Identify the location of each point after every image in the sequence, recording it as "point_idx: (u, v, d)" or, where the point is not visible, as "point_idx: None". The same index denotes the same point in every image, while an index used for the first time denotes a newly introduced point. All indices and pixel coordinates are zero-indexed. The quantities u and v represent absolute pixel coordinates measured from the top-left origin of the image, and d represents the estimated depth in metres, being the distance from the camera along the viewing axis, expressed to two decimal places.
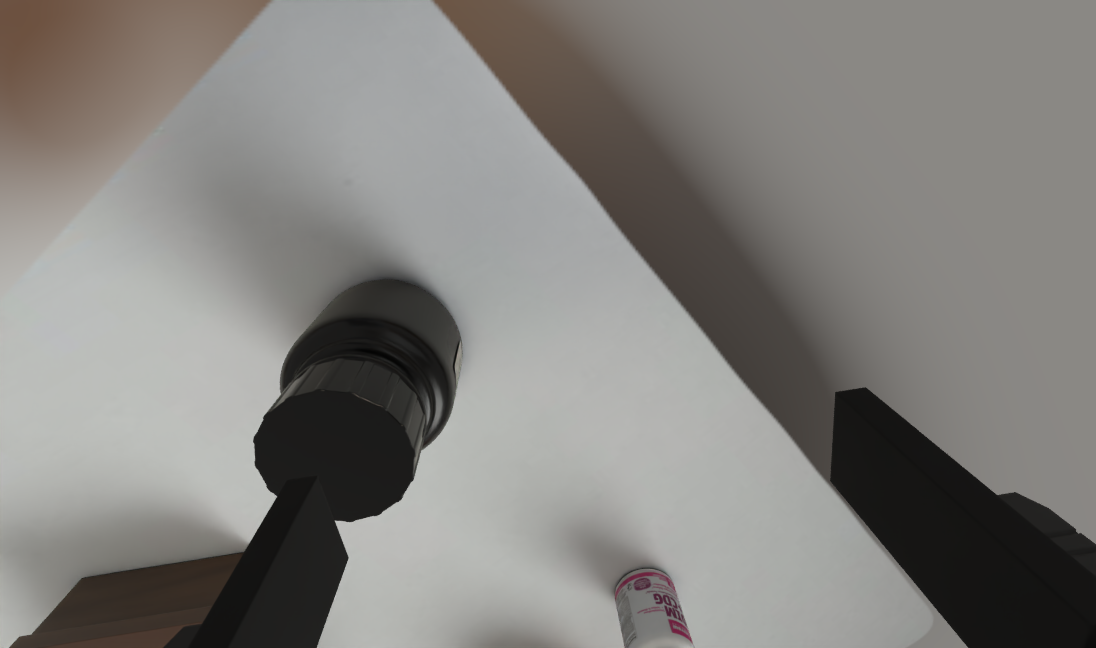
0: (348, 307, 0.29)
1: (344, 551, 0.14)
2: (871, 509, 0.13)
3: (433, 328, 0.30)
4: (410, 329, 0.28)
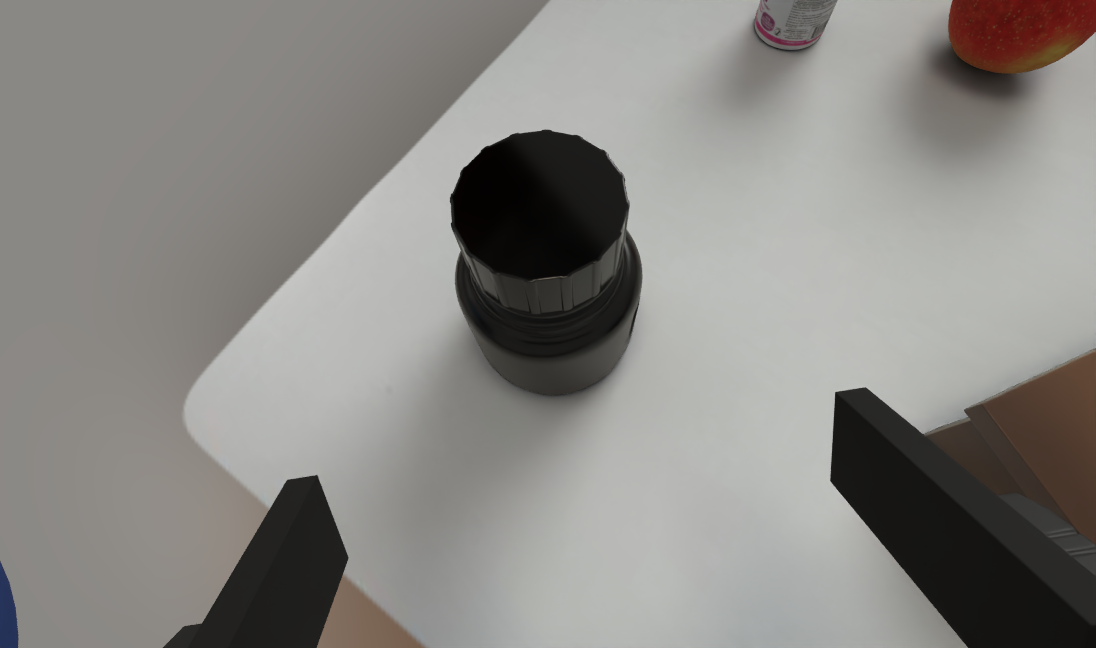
0: (466, 320, 0.27)
1: (344, 551, 0.14)
2: (871, 509, 0.13)
3: None
4: None
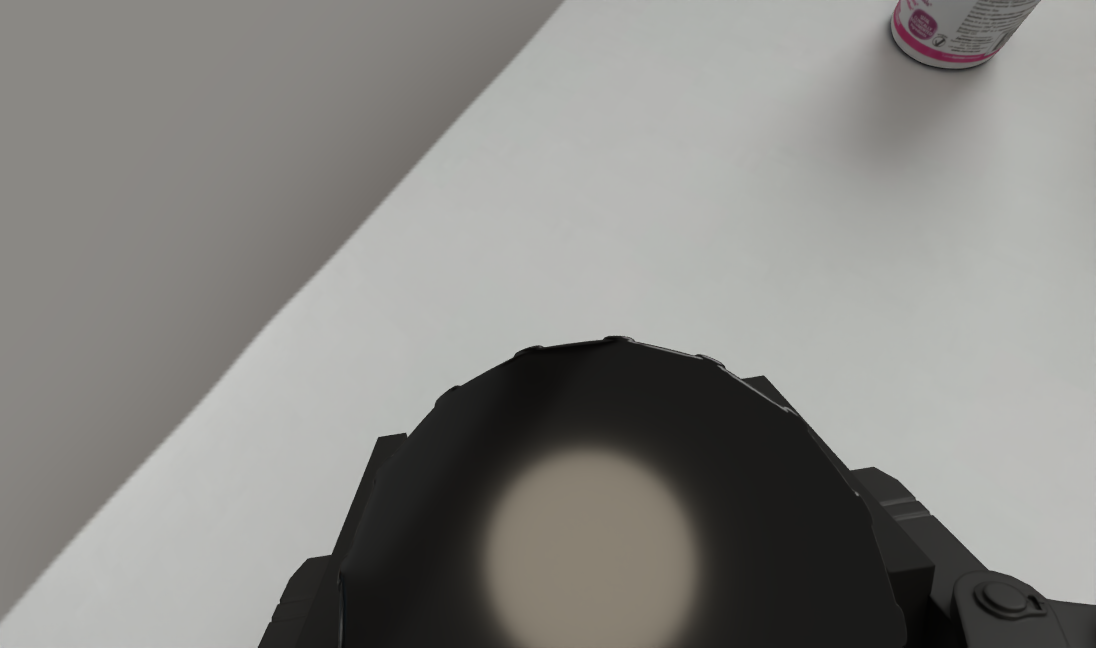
0: None
1: None
2: None
3: None
4: None
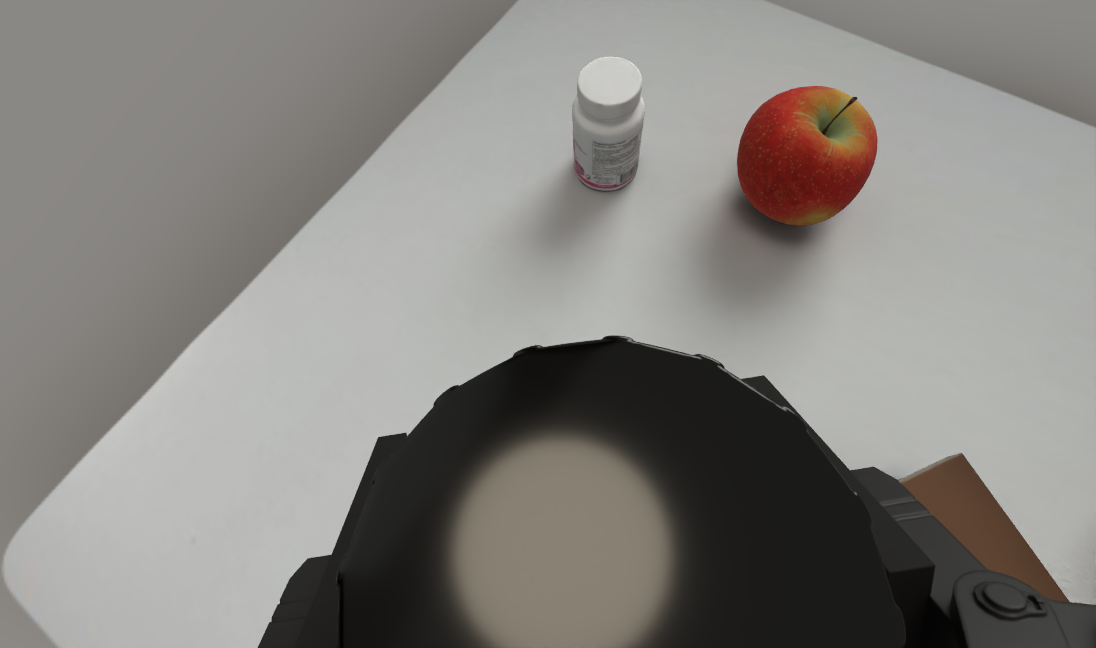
0: None
1: None
2: None
3: None
4: None
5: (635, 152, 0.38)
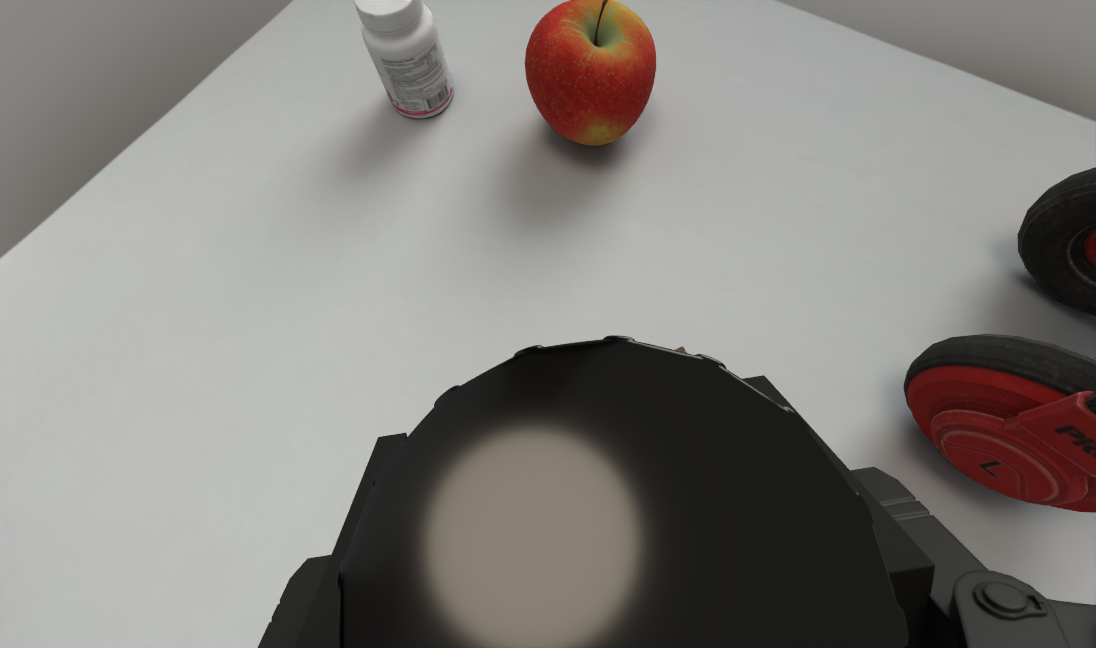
0: None
1: None
2: None
3: None
4: None
5: (435, 74, 0.38)
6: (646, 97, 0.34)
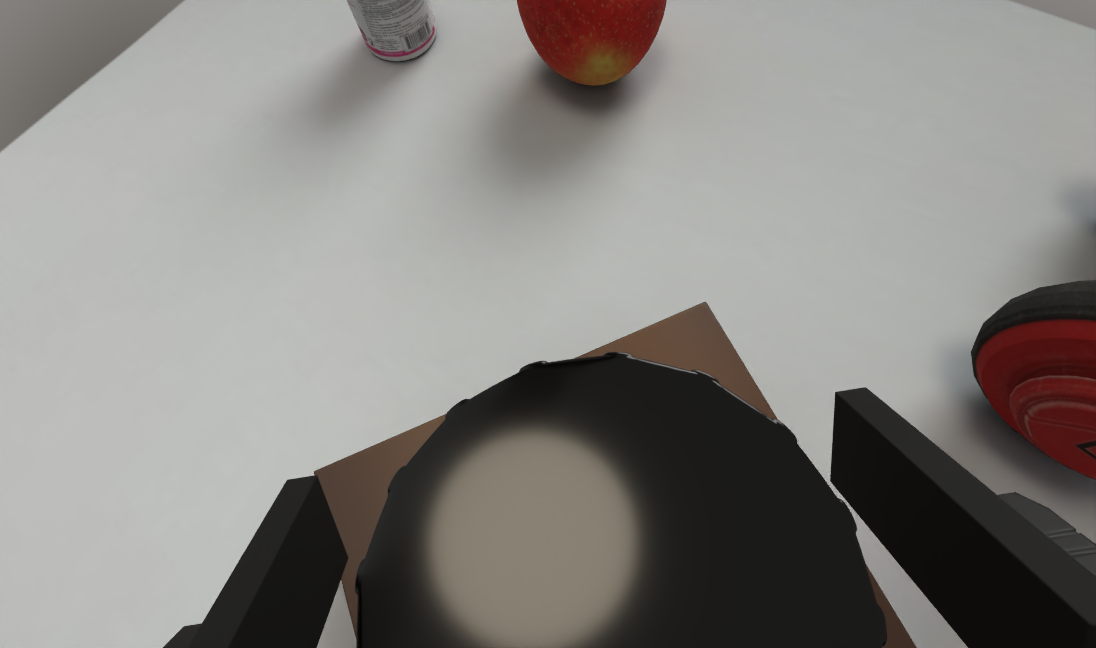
0: None
1: (344, 551, 0.14)
2: (871, 509, 0.13)
3: None
4: None
5: (414, 5, 0.33)
6: (657, 23, 0.29)
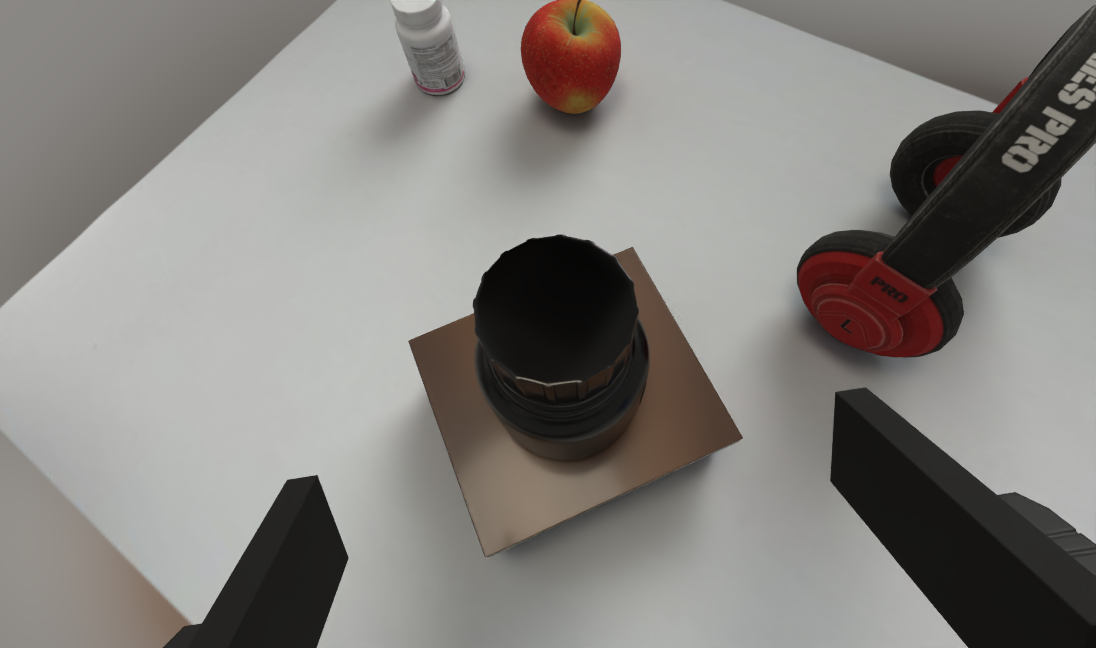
0: None
1: (344, 551, 0.14)
2: (871, 509, 0.13)
3: None
4: None
5: (451, 59, 0.49)
6: (613, 74, 0.45)
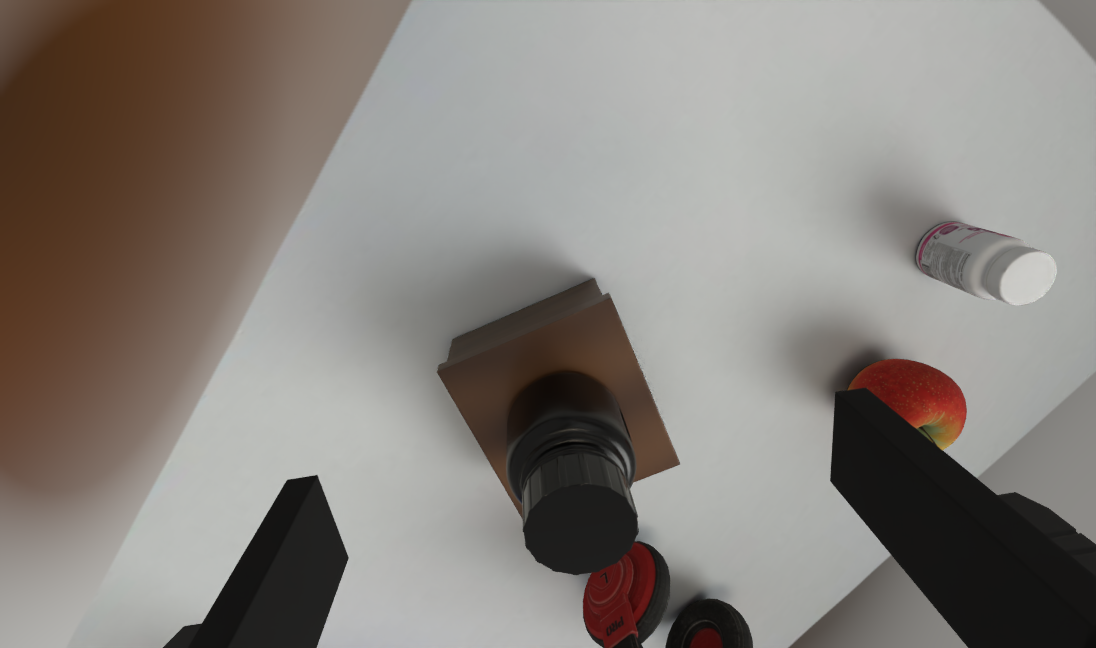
0: (542, 409, 0.37)
1: (344, 551, 0.14)
2: (871, 509, 0.13)
3: (606, 408, 0.38)
4: (596, 417, 0.36)
5: (948, 283, 0.44)
6: None
